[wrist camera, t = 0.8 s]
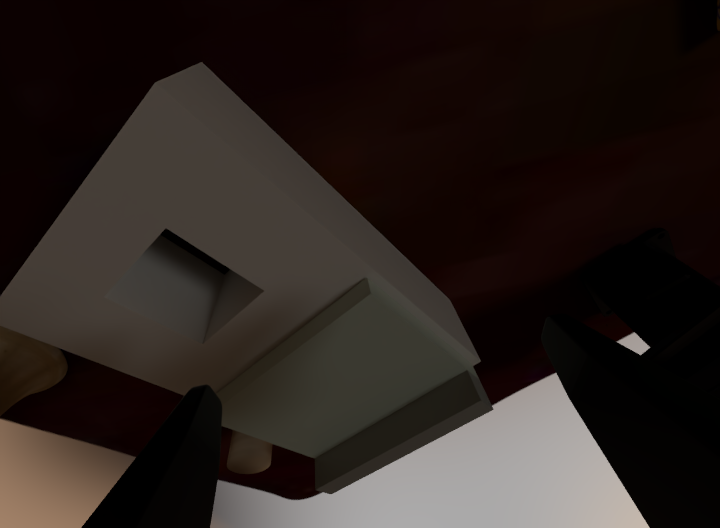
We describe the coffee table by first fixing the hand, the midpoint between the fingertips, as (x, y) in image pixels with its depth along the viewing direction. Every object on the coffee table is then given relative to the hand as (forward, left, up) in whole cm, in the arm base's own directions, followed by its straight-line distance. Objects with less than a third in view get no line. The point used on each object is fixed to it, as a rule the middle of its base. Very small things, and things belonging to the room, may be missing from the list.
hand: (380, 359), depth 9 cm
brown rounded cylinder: (-11, +21, -13) cm, 27 cm away
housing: (-3, +8, -13) cm, 16 cm away
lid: (-8, +8, -7) cm, 13 cm away
